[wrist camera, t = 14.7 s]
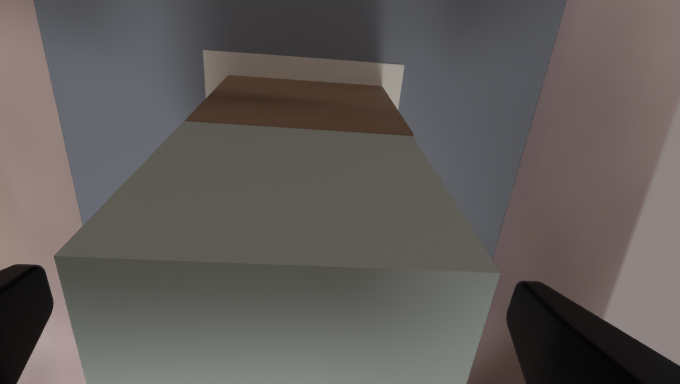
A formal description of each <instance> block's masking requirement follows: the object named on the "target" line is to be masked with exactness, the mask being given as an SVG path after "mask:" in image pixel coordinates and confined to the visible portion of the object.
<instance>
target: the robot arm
mask: <svg viewBox="0 0 680 384" xmlns="http://www.w3.org/2000/svg"><path fill="white" fill-rule="evenodd" d="M52 310H53V297H52V294H51V290H50V286H49V283H48V279H47V276H46V272H45V270H44V269H43V267H41V266H39V265H30V264H16V265H12V266H10V267H8V268H5V269H3V270H1V271H0V384H17V382H18V380H19V378H20V376H21V374H22V372H23V370H24V368H25V366H26V364H27V362H28V360H29V358H30V356H31V354H32V352H33V350H34V348H35V346H36V344H37V342H38V340H39V338H40V336H41V334H42V332H43V329H44V327H45V325H46V323H47V321H48V319H49V317H50V315H51V313H52ZM506 318H507V325H508V329H509V332H510V335H511V338H512V341H513V344H514V348H515V351H516V354H517V357H518V360H519V363H520V366H521V370H522V373H523V376H524V379H525V382H526V384H680V366H679V365H677V364H676V363H674V362H672V361H671V360H669V359H667V358H666V357H664V356H662V355H661V354H659V353H657V352H656V351H654V350H652V349H651V348H649V347H648V346H646V345H644V344H643V343H641V342H639V341H638V340H636V339H634V338H632V337H631V336H629V335H628V334H626V333H624V332H622V331H621V330H619V329H618V328H616V327H614V326H612V325H611V324H609V323H608V322H606V321H604V320H603V319H601V318H600V317H598V316H596V315H595V314H593V313H591V312H590V311H588V310H586V309H585V308H583V307H581V306H580V305H578V304H576V303H575V302H573V301H571V300H570V299H568V298H566V297H565V296H563V295H561V294H560V293H558V292H556V291H555V290H553V289H551V288H550V287H548V286H547V285H545V284H543V283H541V282H538V281H520V282H518V283H517V285H516V287H515V289H514V292H513V295H512V298H511V301H510V304H509V307H508V310H507V316H506Z"/></svg>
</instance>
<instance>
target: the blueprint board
mask: <svg viewBox="0 0 680 384" xmlns="http://www.w3.org/2000/svg"><path fill="white" fill-rule="evenodd" d="M33 1H34V5H35V10H36V14H37V19H38V24H39V28H40V33H41V37H42V42H43V46H44V51H45V55H46V60H47V65H48V69H49V74H50V78H51V83H52V87H53V92H54V97H55V101H56V106H57V110H58V115H59V119H60V124H61V128H62V133H63V138H64V142H65V147H66V151H67V156H68V160H69V165H70V169H71V174H72V179H73V183H74V188H75V192H76V197H77V201H78V206H79V210H80V215H81V220H82V224H83V225H84V224H85V223H86V222H87V221H88V220H89V219H90V218H91V217H92V216H93V215H94V214H95V213H96V212H97V211H98V210H99V209H100V208H101V207H102V206H103V205H104V203H105V202H106V201H107V200H108V199H109V198H110V197H111V196H112V195H113V194H114V193H115V192H116V191H117V190H118V189H119V188H120V187H121V186H122V185H123V184H124V183H125V182H126V181H127V180H128V179H129V178H130V177H131V175H132V174H133V173H134V172H135V171H136V170H137V169H138V168H139V167H140V166H141V165H142V164H143V163H144V162H145V161H146V160H147V159H148V158H149V157H150V156H151V155H152V154H153V153H154V152H155V151H156V150H157V149H158V147H159V146H160V145H161V144H162V143H163V142H164V141H165V140H166V139H167V138H168V137H169V136H170V135H171V134H172V133H173V132H174V131H175V130H176V129H177V128H178V127H179V126H180V125H181V124H182V123H183V122H184V121H185V120H186V118H187V117H188V116H189V115H190V114H191V113H192V112H193V111H194V110H195V109H196V108H197V107H198V106H199V105H200V104H201V103H202V102H203V101H204V100H205V99H206V98H207V97H208V96H209V95H210V94H211V93H212V92H213V90H214V89H215V88H216V87H217V86H218V85H219V84H220V83H221V82H222V81H223V80H224V79H225V78H226V77H227V76H228V75H235V76H249V77H263V78H277V79H291V80H304V81H318V82H332V83H346V84H360V85H374V86H382V87H383V88H384V90H385V91H386V93H387V94H388V96H389V97H390V99H391V100H392V102H393V103H394V105H395V106H396V108H397V109H398V111H399V112H400V114H401V115H402V117H403V118H404V120H405V121H406V123H407V125H408V126H409V128H410V129H411V131H412V132H413V134H414V139H415V140H416V142H417V143H418V145H419V146H420V148H421V150H422V151H423V153H424V154H425V156H426V157H427V159H428V160H429V162H430V164H431V165H432V167H433V168H434V170H435V171H436V173H437V174H438V176H439V178H440V179H441V181H442V182H443V184H444V185H445V187H446V188H447V190H448V192H449V193H450V195H451V196H452V198H453V199H454V201H455V202H456V204H457V206H458V207H459V209H460V210H461V212H462V213H463V215H464V216H465V218H466V220H467V221H468V223H469V224H470V226H471V227H472V229H473V230H474V232H475V234H476V235H477V237H478V238H479V240H480V241H481V243H482V245H483V246H484V248H485V249H486V251H487V252H488V254H489V255H490V257H491V259H492V258H493V254H494V251H495V247H496V244H497V240H498V237H499V233H500V230H501V227H502V223H503V220H504V216H505V213H506V209H507V206H508V202H509V199H510V195H511V192H512V188H513V185H514V182H515V178H516V175H517V171H518V168H519V164H520V161H521V157H522V154H523V150H524V147H525V143H526V140H527V136H528V133H529V130H530V126H531V123H532V119H533V116H534V112H535V109H536V105H537V102H538V98H539V95H540V91H541V88H542V85H543V81H544V78H545V74H546V71H547V67H548V64H549V60H550V57H551V53H552V50H553V46H554V43H555V39H556V36H557V33H558V29H559V26H560V22H561V19H562V15H563V12H564V8H565V5H566V1H567V0H33Z"/></svg>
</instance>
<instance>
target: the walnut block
mask: <svg viewBox="0 0 680 384" xmlns="http://www.w3.org/2000/svg"><path fill="white" fill-rule="evenodd" d="M185 121H192V122H207V123H222V124H237V125H253V126H268V127H283V128H298V129H314V130H329V131H344V132H360V133H375V134H390V135H405V136H413V137H414V134H413V132H412V131H411V129H410V128H409V126H408V125H407V123H406V121H405V120H404V118H403V117H402V115H401V114H400V112H399V111H398V109H397V108H396V106H395V105H394V103H393V102H392V100H391V99H390V97H389V96H388V94H387V93H386V91H385V90H384V88H383V87H382V86H374V85H360V84H346V83H332V82H318V81H304V80H291V79H277V78H263V77H249V76H235V75H228V76H227V77H226V78H225V79H224V80H223V81H222V82H221V83H220V84H219V85H218V86H217V87H216V88H215V89H214V90H213V92H212V93H211V94H210V95H209V96H208V97H207V98H206V99H205V100H204V101H203V102H202V103H201V104H200V105H199V106H198V107H197V108H196V109H195V110H194V111H193V112H192V113H191V114H190V115H189V116H188V117H187V118H186V120H185Z"/></svg>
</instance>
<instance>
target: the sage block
mask: <svg viewBox="0 0 680 384" xmlns="http://www.w3.org/2000/svg"><path fill="white" fill-rule="evenodd" d="M54 259H55V263H56V267H57V271H58V274H59V278H60V282H61V286H62V290H63V294H64V298H65V302H66V306H67V309H68V313H69V317H70V321H71V325H72V329H73V333H74V337H75V340H76V344H77V348H78V352H79V356H80V360H81V364H82V368H83V371H84V375H85V379H86V383H87V384H467V380H468V377H469V374H470V371H471V368H472V364H473V361H474V358H475V355H476V352H477V348H478V345H479V342H480V339H481V335H482V332H483V329H484V326H485V323H486V319H487V316H488V313H489V310H490V307H491V303H492V300H493V297H494V294H495V291H496V287H497V284H498V281H499V278H500V274H501V273H500V271H499V269H498V268H497V266H496V265H495V263H494V262H493V260H492V259H491V257H490V255H489V254H488V252H487V251H486V249H485V248H484V246H483V245H482V243H481V241H480V240H479V238H478V237H477V235H476V234H475V232H474V230H473V229H472V227H471V226H470V224H469V223H468V221H467V220H466V218H465V216H464V215H463V213H462V212H461V210H460V209H459V207H458V206H457V204H456V202H455V201H454V199H453V198H452V196H451V195H450V193H449V192H448V190H447V188H446V187H445V185H444V184H443V182H442V181H441V179H440V178H439V176H438V174H437V173H436V171H435V170H434V168H433V167H432V165H431V164H430V162H429V160H428V159H427V157H426V156H425V154H424V153H423V151H422V150H421V148H420V146H419V145H418V143H417V142H416V140H415V139H414V137H413V136H405V135H390V134H375V133H360V132H344V131H329V130H314V129H298V128H283V127H268V126H253V125H237V124H222V123H207V122H192V121H184V122H183V123H182V124H181V125H180V126H179V127H178V128H177V129H176V130H175V131H174V132H173V133H172V134H171V135H170V136H169V137H168V138H167V139H166V140H165V141H164V142H163V143H162V144H161V145H160V146H159V147H158V149H157V150H156V151H155V152H154V153H153V154H152V155H151V156H150V157H149V158H148V159H147V160H146V161H145V162H144V163H143V164H142V165H141V166H140V167H139V168H138V169H137V170H136V171H135V172H134V173H133V174H132V175H131V177H130V178H129V179H128V180H127V181H126V182H125V183H124V184H123V185H122V186H121V187H120V188H119V189H118V190H117V191H116V192H115V193H114V194H113V195H112V196H111V197H110V198H109V199H108V200H107V201H106V202H105V203H104V205H103V206H102V207H101V208H100V209H99V210H98V211H97V212H96V213H95V214H94V215H93V216H92V217H91V218H90V219H89V220H88V221H87V222H86V223H85V224H84V225H83V226H82V227H81V228H80V229H79V230H78V231H77V233H76V234H75V235H74V236H73V237H72V238H71V239H70V240H69V241H68V242H67V243H66V244H65V245H64V246H63V247H62V248H61V249H60V250H59V251H58V252H57V253H56V254H55V255H54Z"/></svg>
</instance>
